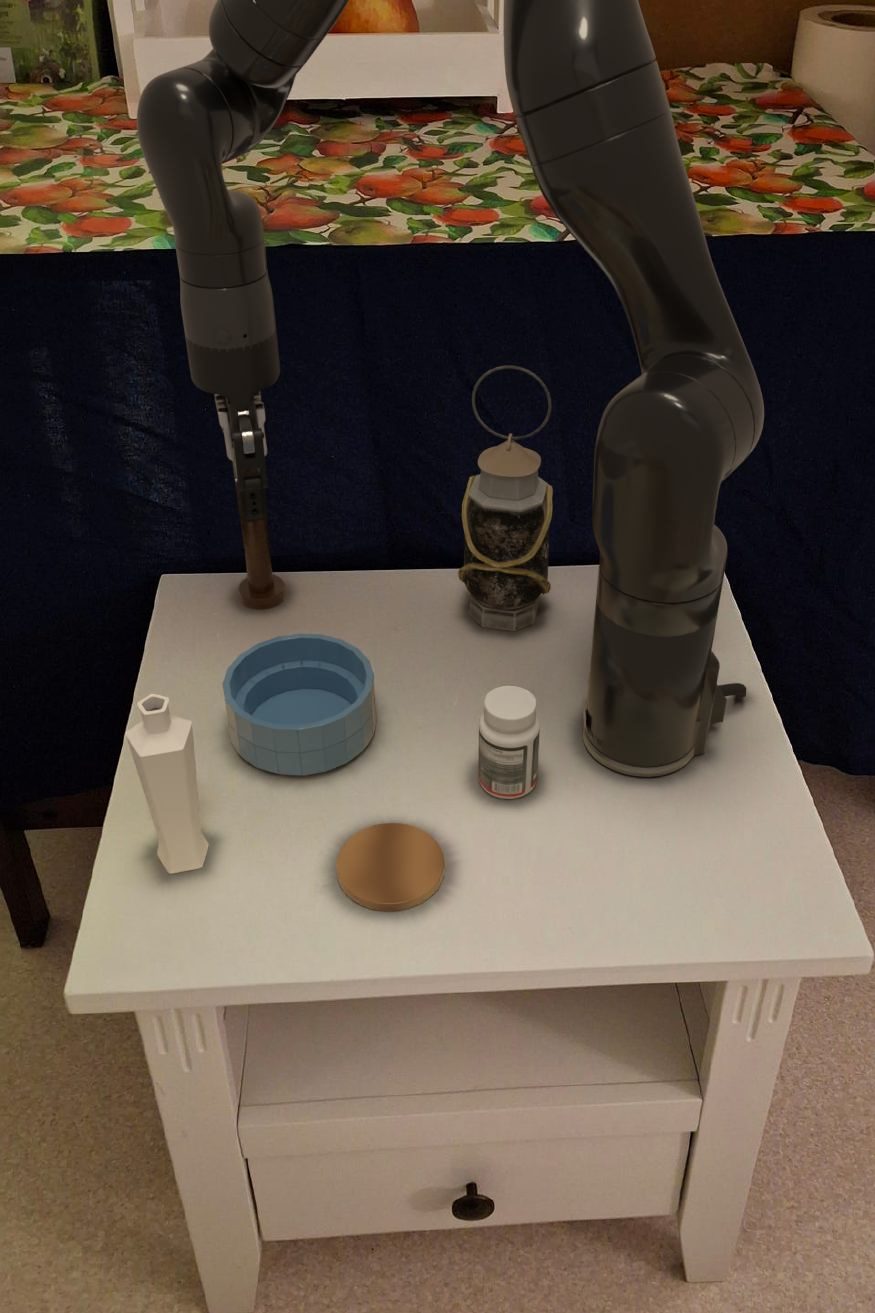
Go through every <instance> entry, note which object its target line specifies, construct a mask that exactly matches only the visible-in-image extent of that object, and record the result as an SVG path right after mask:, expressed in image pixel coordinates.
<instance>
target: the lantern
mask: <svg viewBox="0 0 875 1313" xmlns="http://www.w3.org/2000/svg"><path fill="white" fill-rule="evenodd" d="M506 369H507V370H511V369H513V370H517V371H521V372H523V373H527V374H528V375H530V376H531V377H533V378H534V379H535V380H536V381H538V383H539V384H540V386H542V388H543V390H544V392H545V394H546V398H547V404H548V407H547V413H546V416H545V418H544V420H543V422H542V423H541V425H540V426H539V427H538V428H537V429H535V430H534V431H532V432H530V433H528V434H525V435H521V436H514V435H513V433H509V434H508V435H504V434H500V433H498V432H496V431H494V430H493V429H491V428H490V427H489V426H488V425H486V424H485V423H484V421H483V420H482V419H481V417H480V415H479V413H478V411H477V408H476V393H477V390H478V387H479V386H480V384H481V382H482V381H483V380H484V379H485V378H486V377H487V376H488V375H490V374H492V373H495V372H497V371H500V370H506ZM471 394H472V395H471V406H472V410H473V413H474V416H475V417H476V419H477V422H479V423H480V425H481V426H482V427H483V428H484V429H485V430H486V431H487V432H489V433H490V434H492V435H494V436H496V437H498V438H501V439H505V441H504V442H502V443H500V444H498V445H496V446H492V447H489V448H487V449H484V450H483V451H482V452H481V453H480V454H479V457H478V459H477V466H478V467H479V469H480V474H477V475H471V476H470V477H469V479H468V482H467V486H466V489H465V492H464V496H463V499H462V504H461V521H462V527H463V532H464V553H463V556H464V557H463V566H462V567H460V568H459V570H458V573H457V575H458V580H459V581H461V582H462V583H464V585H465V588H466V590H467V591H468V593H469V594H470V595H469V598H470V602H469V616H470V617H471V618H473V620H474V621H476V623H478V625H480V626H481V627H482V628H489V629H496V630H503V631H510V632H517V631H519V630H521V629H523V628H526V627H528V626H530V625H531V626H532V625H533V624H534V623H535V621H536V618H537V614H538V611H539V607H540V596H541V595H545V594H549V593H550V591H551V589H552V588H551V587H552V585H551V583H550V581H549V579H548V578H549V554H550V553H549V552H550V524H551V520H552V517H553V494H554V493H553V492H554V490H553V485H550V484H548V482H546V481H545V480H543V479H542V478H541V477H540V476H539V471H538V470H539V469H540V466H541V463H542V458H541V456H540V454H539V453H537V451H534V450H532V449H530V448H526V447H523V446H522V445H521V444H519V443H518V442H516V441H518V440H524V439H527V438H531V437H533V436H535V435H536V434H537V433H540V431H541V430H542V429H544V427H545V426H546V424H547V423H548V421H549V419H550V416H551V413H552V398H551V394H550V392H549V390H548V387H547V386H546V384H545V383H544V381H543V380H542V379H541V378H540V377H539V376H538V375H536V373H534V372H532V371H531V370H529V369H527V368H524V367H521V366H518V365H517V366H516V365H501V366H496V367H494V368H492V369H489V370H487V372H485V373H484V374H482V375H481V377H479V379H478V380H477V381H476V383H475V385H474V387H473V390H472V392H471Z"/></svg>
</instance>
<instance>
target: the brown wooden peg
mask: <svg viewBox="0 0 875 1313" xmlns="http://www.w3.org/2000/svg"><path fill="white" fill-rule="evenodd" d="M233 467H234V472H233V476H234V475H235V478H236V472H235V465H234V461H233V464H232V468H233ZM253 471H258V468H256V469H248V470H244V471H243V473H245V472H253ZM235 490H236V498H237V504H238V512H239V520H240V528H241V538H242V543H243V544H242V545H243V552H244V559H245V560H244V561H245V568H246V575H247V577H245V578H244V579H243V580H241V581H240V583H239V585H238V595H239V596H238V597H239V601H240V602H241V604H242V605H243V606H245V607H246V608H249V609H252V610H268V609H271V608H275V607H277V606H278V605H280V604H281V603H283V601H284V600H285V598H286V587H285V586H286V585H285V581H284V580H283V578H281V577H280V576H278V575H276V574H274V572H273V565H272V564H273V563H272V556H271V555H272V554H271V546H270V538H269V529H268V517H267V518H266V519H265V520H263V521H255V522H245V521H244V520H243V516H242V510H241V502H240V494H239V487H237V484H236V483H235Z"/></svg>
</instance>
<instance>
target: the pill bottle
mask: <svg viewBox="0 0 875 1313" xmlns="http://www.w3.org/2000/svg"><path fill="white" fill-rule="evenodd" d="M478 722H479V723H478V762H477V764H478V765H477V766H478V769H477V771H478V772H477V779H478V783H479V784H480V786H481V788H482V789H483V790H484V791H485V792H486V793H487V794H489V795H490V796H493V797H495V798H498V799H502V800H513V799H519V798H521V797H524V796H526V795H527V794H529V793H530V792H532V791H533V789H534V788H535V786H536V784H537V782H538V780H537V779H538V767H539V751H540V750H539V749H540V731H541V725H540V720H539V718H538V716H537V699H536V697H535V696H534V694H533V693H532V692H530V690H527V689H526V688H523V687H520V686H515V685H502V686H497V687H495V688H493V689H492V690H490V691H488V693H487V694H486V695H485V697H484V701H483V713H481V715H480V718H479V721H478Z"/></svg>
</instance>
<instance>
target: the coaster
mask: <svg viewBox="0 0 875 1313" xmlns="http://www.w3.org/2000/svg"><path fill="white" fill-rule="evenodd" d="M338 852H339V853H338V855H337V859H336V867H335V868H336V876H337V881H338V884H339V886H340V888H341V889H342V891H343V892H344V893H345V894H346V896H348V897H349V898H350V899H351V900H352V901H354V902H355V903H357V904H358V905H360V906H362V907H365V908H368V909H371V910H374V911H380V912H381V911H382V912H397V911H403V910H406V909H410V908H414V907H416V906H418V905H419V904H422V903H423V902H425V901H427V900H428V899H429V898H430V897H432V896H433V895H434V894H435V892H436V891H438V889H439V887H440V886H441V884H442V882H443V880H444V876H445V869H446V867H445V866H446V865H445V855H444V851H443V849H442V848H441V846H440V844H439V843H438V841H437V840H436V839H435V838H434V837H433V835H431V834H430V833H428V832H427V831H425V830H423V829H421V828H419V827H416V826H414V825H411V824H405V823H402V822H401V823H400V822H386V823H379V824H374V825H371V826H368V827H365V828H364V829H361V830H359V831H357V832H356V833H355V834H354V835H352V836H350V838H349V839H347V840H346V842H344V843H343V845H342V847H341V848H340V850H339V851H338Z"/></svg>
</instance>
